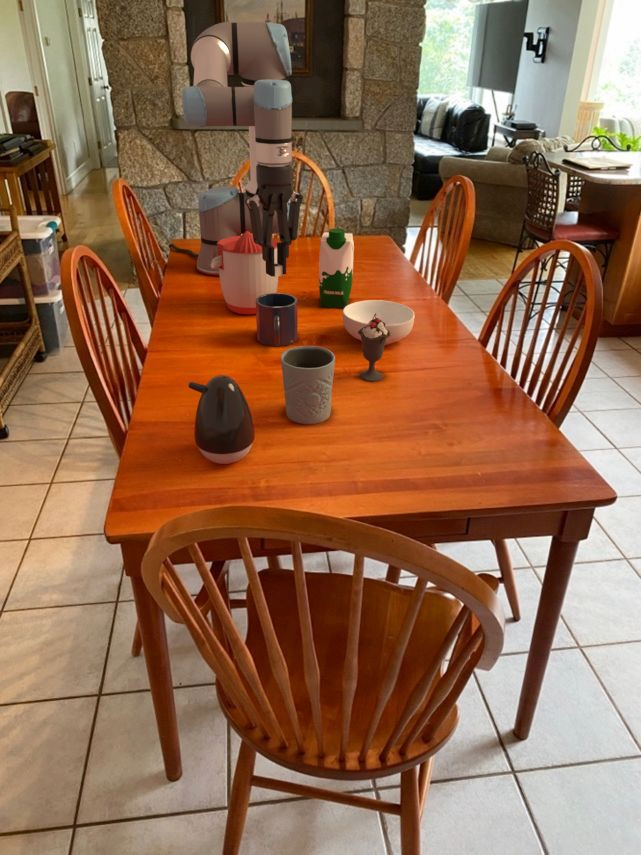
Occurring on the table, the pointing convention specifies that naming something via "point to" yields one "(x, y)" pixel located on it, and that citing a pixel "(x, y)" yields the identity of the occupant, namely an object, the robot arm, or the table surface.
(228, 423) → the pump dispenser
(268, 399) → the table surface
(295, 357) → the grey embossed cup
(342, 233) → the milk carton
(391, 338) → the cereal bowl
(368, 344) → the sundae
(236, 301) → the citrus juicer
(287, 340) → the mug
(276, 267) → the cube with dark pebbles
